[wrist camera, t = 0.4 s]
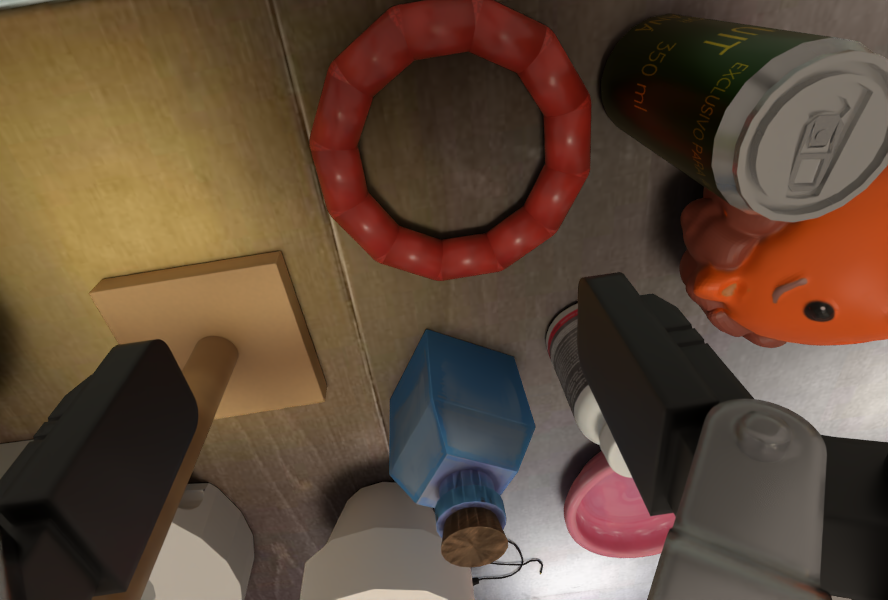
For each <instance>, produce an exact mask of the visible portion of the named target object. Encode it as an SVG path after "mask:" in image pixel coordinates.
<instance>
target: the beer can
mask: <svg viewBox="0 0 888 600" xmlns="http://www.w3.org/2000/svg"><path fill="white" fill-rule="evenodd" d="M601 97H602V102H603V105H604V107H605V110H606V113H607V115H608V117H609V118H610V119H611V120H612V121H613V123H614V124H615V125H616V126H617V127H618V128H620V129H621V130H622V131H624V132H625V133H627V134H628V135H630V136H631V137H633V138H634V139H636V140H637V141H638V142H640V143H641V144H643V145H644V146H646V147H647V148H649V149H650V150H652V151H653V152H654V153H656V154H657V155H659V156H660V157H662V158H663V159H665V160H666V161H668V162H669V163H670V164H672V165H673V166H675V167H676V168H678V169H679V170H681V171H682V172H684V173H685V174H686V175H688V176H689V177H691V178H692V179H694V180H695V181H697V182H698V183H700V184H701V185H702V186H704V187H705V188H707V189H708V190H710V191H711V192H713V193H714V194H716V195H717V196H718V197H720V198H721V199H723V200H724V201H726V202H727V203H729V204H730V205H732V206H734V207H736V208H738V209H740V210H742V211H743V212H745V213H747V214H751V215H760V216H765V217H766V218H768V219H770V220H775V221H784V222H798V221H803V220H809V219H814V218H818V217H820V216H822V215H825V214H827V213H829V212H831V211H833V210H836V209H838V208H840V207H842V206H844V205H845V204H846V203H848V202H849V201H850V200H852V199H853V198H855V197H856V196H857V195H859V194H860V193H861V192H863V191H864V190H865V189H867V187H868V186H869V185H870V184H871V183H872V182H873V181H874V180H875V179H876V178H877V177H878V175H879V174H880V173H881V172H882V171H883V170H884V169H885V168H886V167H887V165H888V60H887V59H886V58H885V57H883V56H882V55H879V54H875V53H874V52H872V51H871V50H870V49H868V48H867V47H865V46H864V45H863V44H861V43H860V42H858V41H852V40H846V39H840V38H834V37H828V36H821V35H814V34H807V33H800V32H793V31H786V30H779V29H772V28H765V27H758V26H751V25H745V24H738V23H731V22H724V21H717V20H710V19H703V18H696V17H689V16H682V15H675V14H665V15H660V16H655V17H650V18H648V19H647V20H645V21H643V22H641V23H640V24H638V25H636V26H634V27H632V28H631V29H630V30H629V31H628V32H627V33H626V34H625V35H624V36H623V37H622V38H621V39H620V40H619V41H618V42H617V44H616V46H615V47H614V49H613V51H612V53H611V54H610V56H609V58H608V59H607V61H606V65H605V69H604V72H603V76H602V80H601Z"/></svg>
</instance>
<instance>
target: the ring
mask: <svg viewBox="0 0 888 600" xmlns="http://www.w3.org/2000/svg"><path fill="white" fill-rule="evenodd" d="M463 52H471V53H473V54H475V55H477V56H480V57H482V58H484V59H486V60H489V61H491V62H493V63H495V64H498V65H500V66H502V67H504V68H506V69H509V70H511V71H513V72H515V73H517V74H518V76H519V78H520V79H521V81H522V82H523V84H524V85H525V87H526V88H527V90H528V91H529V93H530V95H531V96H532V98H533V99H534V101H535V102H536V104H537V105H538V107H539V108H540V110H541V112H542V113H543V115H544V141H545V165H544V167H543V169H542V171H541V172H540V174H539V176H538V178H537V180H536V182H535V184H534V186H533V188H532V190H531V192H530V194H529V196H528V198H527V200H526V202H525V204H524V206H522V207H521V208H520V209H518V210H517V211H516V212H514V213H513V214H511V215H510V216H509V217H507V218H506V219H505V220H503V221H502V222H500V223H499V224H498V225H496V226H495V227H494V228H492V229H491V230H489V231H488V232H487V233H482V234H476V235H469V236H463V237H457V238H451V239H444V240H440V239H437V238H434V237H431V236H428V235H425V234H422V233H419V232H416V231H413V230H410V229H407V228H404V227H402V226H399V225H398V224H397V223H396V222H395V221H394V220H393V219H392V218H391V216H390V215H389V214H388V213H387V212H386V211H385V210H384V209H383V208H382V207H381V206H380V204H379V203H378V202H377V201H376V200H375V199H374V198H373V197H372V196H371V195H370V194H369V192H368V189H367V185H366V180H365V176H364V171H363V167H362V162H361V158H360V153H359V149H358V143H359V140H360V137H361V134H362V130H363V127H364V124H365V121H366V118H367V115H368V112H369V109H370V105H371V102H372V99H373V96H374V95H376V94H377V93H378V92H379V91H380V90H381V89H382V88H384V87H385V86H386V85H387V84H388V83H389V82H390V81H392V80H393V79H394V78H395V77H396V76H397V75H398V74H399V73H401V72H402V71H403V70H404V69H405V68H406V67H407V66H409V65H410V64H411V63H412V62H413V61H414V60H420V59H426V58H432V57H439V56H445V55H451V54H457V53H463ZM309 144H310V149H311V153H312V156H313V160H314V164H315V167H316V171H317V175H318V178H319V182H320V185H321V189H322V193H323V196H324V200H325V204H326V207H327V210H328V212H329V214H330V215H331V217H332V218H333V219H334V220H335V221H336V222H337V223H338V224H339V225H340V226H341V227H342V228H343V229H344V230H345V231H346V232H347V233H348V234H349V235H350V236H351V237H352V238H353V239H354V240H355V241H356V242H357V243H358V244H359V245H360V246H361V247H362V248H363V249H364V250H365V251H366V252H367V253H368V254H369V255H370V256H371V257H372V258H373V259H374V260H375V261H377V262H379V263H381V264H384V265H388V266H391V267H394V268H397V269H400V270H404V271H407V272H410V273H413V274H416V275H420V276H423V277H426V278H429V279H432V280H436V281H444V280H450V279H456V278H463V277H469V276H475V275H481V274H488V273H494V272H499V271H502V270H504V269H506V268H507V267H509V266H510V265H511V264H513V263H514V262H516V261H517V260H519V259H520V258H522V257H523V256H524V255H526V254H527V253H529V252H530V251H532V250H533V249H534V248H536V247H537V246H539V245H540V244H542V243H543V242H545V241H546V240H547V239H549V238H550V237H552V236H553V235H554V234H555V233H556V232H557V231H558V229H559V227H560V226H561V224H562V222H563V220H564V218H565V217H566V215H567V213H568V211H569V209H570V208H571V206H572V204H573V202H574V200H575V199H576V197H577V195H578V193H579V191H580V189H581V188H582V186H583V184H584V182H585V180H586V179H587V177H588V175H589V172H590V153H591V98H590V94H589V92H588V90H587V89H586V87H585V85H584V83H583V82H582V80H581V78H580V77H579V75H578V73H577V71H576V70H575V68H574V66H573V65H572V63H571V61H570V59H569V58H568V56H567V54H566V53H565V51H564V49H563V47H562V46H561V44H560V42H559V41H558V39H557V37H556V35H555V34H554V32H553V31H552V30H551V29H550V28H549V27H547V26H546V25H544V24H542V23H539V22H537V21H535V20H533V19H531V18H529V17H527V16H525V15H523V14H521V13H519V12H517V11H515V10H512V9H510V8H508V7H506V6H504V5H502V4H500V3H498V2H496V1H494V0H425V1H418V2H412V3H406V4H400V5H395V6H393V7H391V8H389V9H388V10H387V11H386V12H385V13H384V14H383V15H381V16H380V17H379V18H378V19H377V20H376V21H375V22H374V23H373V24H372V25H371V26H370V27H369V28H367V29H366V30H365V31H364V32H363V33H362V34H361V35H360V36H359V37H358V38H357V39H356V40H355V41H353V42H352V43H351V44H350V45H349V46H348V47H347V48H346V49H345V50H344V51H343V52H342V53H341V54H339V55H338V56H337V57H336V58H335V59H334V60H333V61H332V63H331V64H330V66H329V68H328V71H327V75H326V79H325V82H324V86H323V90H322V94H321V97H320V101H319V105H318V108H317V112H316V116H315V119H314V123H313V127H312V130H311V134H310V140H309Z"/></svg>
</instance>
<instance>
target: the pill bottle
mask: <svg viewBox="0 0 888 600" xmlns="http://www.w3.org/2000/svg"><path fill="white" fill-rule="evenodd" d="M577 320H578V303H577V304H575V305H573V306H571V307H569V308H567V309H566V310H564V311H563V312H561V313H560V314H559V315H558V316H557V317H556V318H555V319H554V321H553V322H552V324H551V325H550V327H549V329H548V332H547V336H546V347H547V351H548V354H549V356H550V359H551V362H552V364H553V366H554V369H555V371H556V373H557V376H558V378H559V381H560V383H561V386H562V388H563V391H564V393H565V396H566V398H567V401H568V403H569V406H570V408H571V410H572V413H573V416H574V418H575V421H576V423H577V425H578V427H579V429H580V430H581V432H582V433H583V434H584V435H585V436H586V437H587V438H588V439H589V440H590V441H592V442H594V443H595V444H598V445H600V448H601V450H602V452H603V454H604V455H605V458H606V460H607V462H608V464H609V465H610V467H611V468H612V470H613V471H615V472H616V473H617V474H619V475H621V476H624V477H628V478H632V476H631V474H630V472H629V470H628V468H627V465H626V463H625V461H624V459H623V457H622V455H621V453H620V451H619V448H618V446H617V444H616V442H615V440H614V438H613V436H612V434H611V431H610V429H609V427H608V425H607V423H606V421H605V419H604V417H603V414H602V412H601V410H600V408H599V406H598V404H597V402H596V400H595V398H594V395H593V393H592V391H591V389H590V387H589V385H588V383H587V381H586V378H585V376H584V374H583V372H582V369H581V365H580V361H579V356H578V349H577Z"/></svg>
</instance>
